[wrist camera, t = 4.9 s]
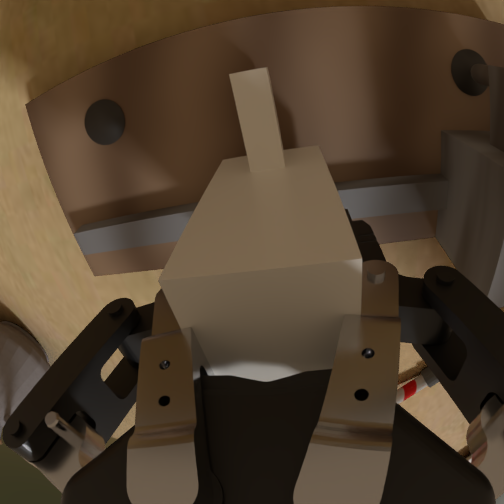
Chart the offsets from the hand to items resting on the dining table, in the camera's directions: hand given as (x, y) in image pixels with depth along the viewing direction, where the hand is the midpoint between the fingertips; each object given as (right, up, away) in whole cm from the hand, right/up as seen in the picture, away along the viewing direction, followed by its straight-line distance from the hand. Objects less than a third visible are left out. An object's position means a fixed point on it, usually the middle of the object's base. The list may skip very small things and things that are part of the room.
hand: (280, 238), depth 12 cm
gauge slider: (0, +3, +1) cm, 3 cm away
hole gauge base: (0, +5, +2) cm, 6 cm away
